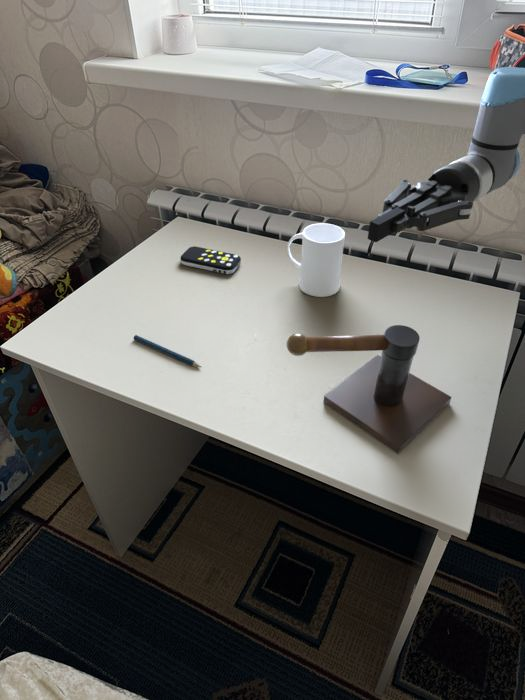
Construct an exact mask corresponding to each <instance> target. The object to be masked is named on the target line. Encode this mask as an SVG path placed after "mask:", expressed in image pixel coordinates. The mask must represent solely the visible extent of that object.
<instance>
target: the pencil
mask: <svg viewBox="0 0 525 700" xmlns="http://www.w3.org/2000/svg"><path fill="white" fill-rule="evenodd" d="M133 340H134V341H136V342H138V343H140V344H143V345H145V346H147V347H149V348H151V349H153V350H156V351H158V352H160V353H163V354H165V355H167V356H169V357H171V358H173V359H176V360H178V361H180V362H183V363H185V364H187V365H188V366H191V367H196V368H202V366H201V365H200V364H199V363H197V361H195V360H193V359H191V358H188V357H186V356H185V355H182V354H180V353H178V352H175V351H173V350H171V349H169V348H166V347H164V346H162V345H160V344H158V343H155V342H152V341H150V340H148V339H146V338H144V337H142V336H140V335H137V334H135V335H134V336H133Z"/></svg>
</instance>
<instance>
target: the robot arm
mask: <svg viewBox="0 0 525 700" xmlns="http://www.w3.org/2000/svg"><path fill="white" fill-rule="evenodd" d="M479 104H480V105H479V108H478V113H477V117H476V122H475V126H474V129H473V133H472V137H471V140H470V144H469V148H468V152H467V154H466V155H465V156H463V157H461V158H459V159H456V160H454V161H451V163H449V164H447V165H445V166H443V167H440V168H439V169H437V170H436V171H434V172H433V173H432V174H431V175H430V176H429V178H427V180H424V181H419V182H417V184H412V183H411V182H409V180H408V179H406V178H405V179H404V178H403V179H400V183H399V186H398V187H397V188H395V189H394V190H393V191H392V192H391V193H390V194H389V195H388V196H387V197H386V198H385V199H384V201H383V206H382V212H381V213H379V214H378V215H377V217H376V218H374V219H372V220H370V221H369V227H368V233H367V240H369V241H372V242H373V243H378V242H379V241H381V240H384V239H385V238H387V237H388V236H390V235H392V234H394V233H395V234H397V233H400V232H403V231H404V230H406V229H412V228H413V227H415V228H416V230H417V231H418V232H425V231H428V230H430V229H433V228H434V229H435V228H437V227H440V226H443V225H446V224H449V223H452V222H455V221H462V220H463V221H464V220H468V219H469V220H470V216H471V214H472V211H473V206H474V203H475V202H476V201H478V200H480V199H482V198H483V197H485V196H486V195H488V194H489V193H491V192H493V191H495V190H498V189H500V188H501V187H503V186H505V185H506V184H507V183H508V182H509V181H510V180H512V179H513V178H514V176H515V175H516V174H517V173H518V170H519V169H520V164H521V157H520V152H519V149H518V147H519V144H520V141H521V138H522V136H523V135H525V67H517V66H503V67H499V68H496V69H494V70H492V71H491V73H490V74H489V76H488V79H487V82H486V83H485V87H484V90H483V93H482V96H481V99H480V103H479Z"/></svg>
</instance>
